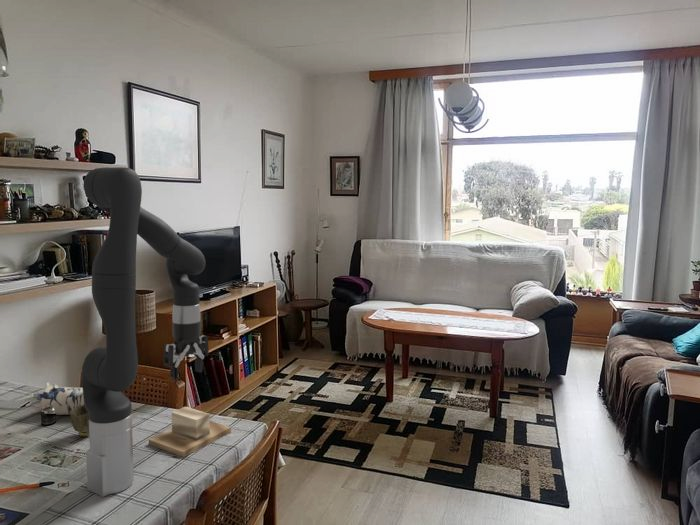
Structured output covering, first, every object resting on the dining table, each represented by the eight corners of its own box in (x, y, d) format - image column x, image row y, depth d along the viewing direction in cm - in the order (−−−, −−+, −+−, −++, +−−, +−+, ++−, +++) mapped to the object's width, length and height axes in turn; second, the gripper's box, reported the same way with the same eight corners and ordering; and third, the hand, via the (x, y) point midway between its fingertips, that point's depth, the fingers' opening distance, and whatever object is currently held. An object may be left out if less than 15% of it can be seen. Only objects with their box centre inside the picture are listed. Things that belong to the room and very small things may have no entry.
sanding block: (196, 440, 140) (196, 420, 139) (172, 432, 145) (171, 412, 144) (209, 433, 144) (209, 413, 144) (185, 425, 149) (185, 406, 149)
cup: (105, 430, 149) (104, 404, 148) (89, 441, 141) (88, 414, 141) (81, 428, 149) (80, 403, 149) (65, 440, 142) (63, 413, 141)
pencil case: (36, 419, 156) (34, 389, 155) (50, 408, 164) (49, 379, 163) (108, 418, 157) (107, 388, 156) (119, 408, 166) (118, 379, 165)
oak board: (183, 457, 134) (183, 451, 134) (148, 444, 141) (148, 439, 141) (231, 432, 149) (231, 427, 149) (197, 421, 156) (197, 416, 156)
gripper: (175, 326, 133) (176, 385, 135) (214, 317, 146) (215, 371, 147) (156, 322, 137) (157, 380, 139) (196, 314, 149) (197, 366, 151)
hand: (187, 375), depth 143 cm, fingers open, 8 cm apart
